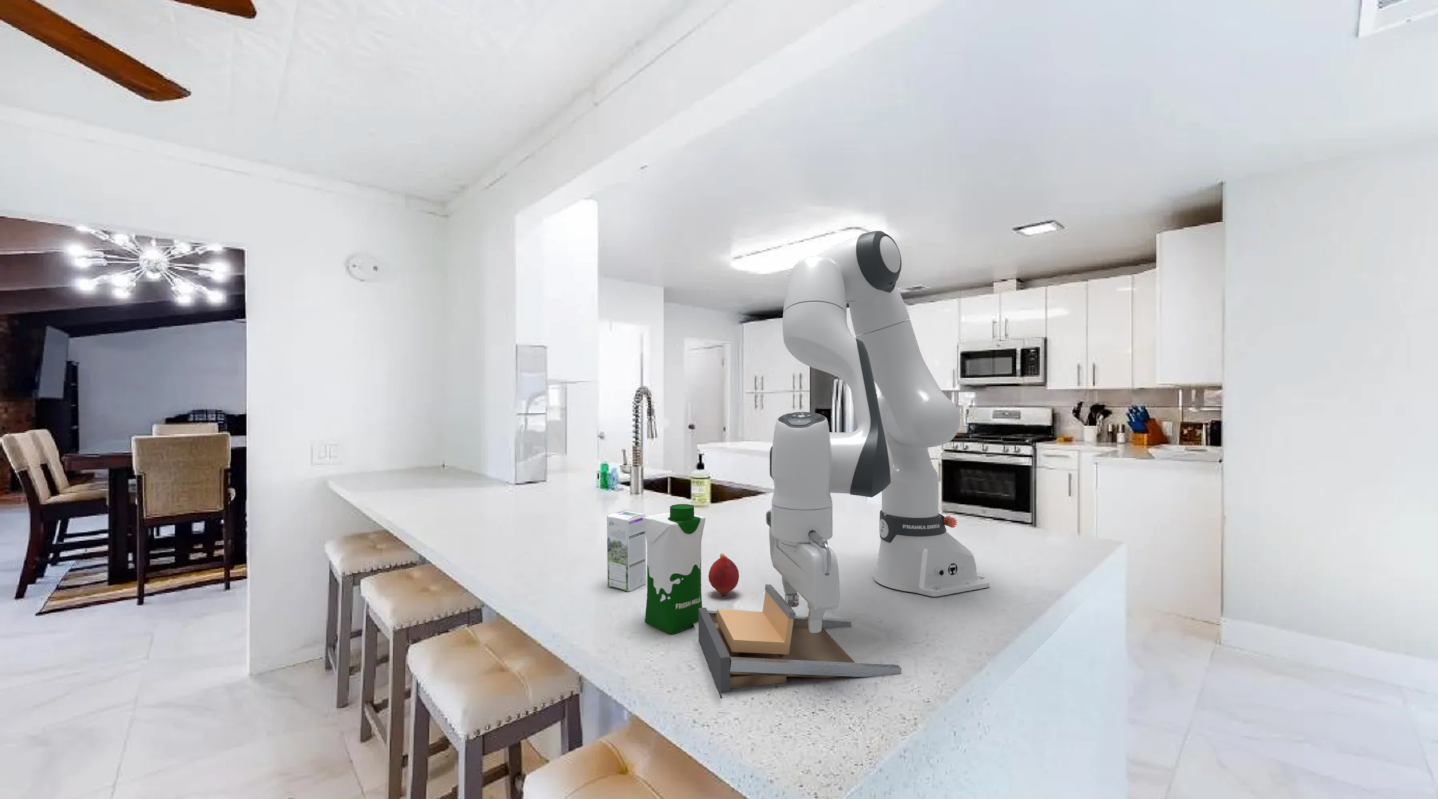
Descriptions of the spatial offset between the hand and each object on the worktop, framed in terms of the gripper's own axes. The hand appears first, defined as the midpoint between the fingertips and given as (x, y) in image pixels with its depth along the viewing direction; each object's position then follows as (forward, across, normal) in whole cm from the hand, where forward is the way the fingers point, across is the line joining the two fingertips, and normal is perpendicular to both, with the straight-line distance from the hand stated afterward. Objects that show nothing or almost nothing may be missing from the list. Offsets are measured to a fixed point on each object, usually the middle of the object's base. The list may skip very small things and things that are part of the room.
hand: (802, 617), depth 84 cm
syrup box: (+6, +36, +24) cm, 44 cm away
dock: (+6, 0, +1) cm, 6 cm away
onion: (+6, +27, +6) cm, 29 cm away
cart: (+3, 0, +8) cm, 9 cm away
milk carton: (+6, +16, +17) cm, 24 cm away
